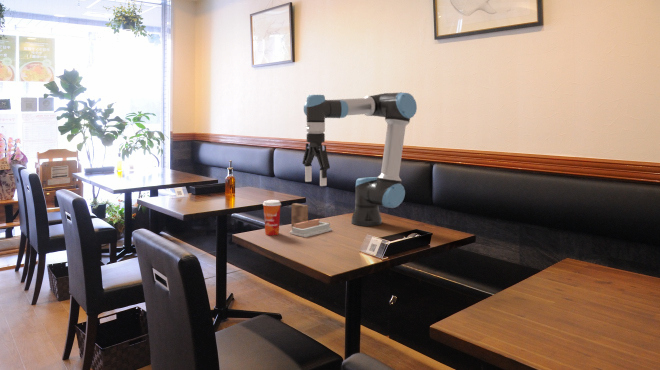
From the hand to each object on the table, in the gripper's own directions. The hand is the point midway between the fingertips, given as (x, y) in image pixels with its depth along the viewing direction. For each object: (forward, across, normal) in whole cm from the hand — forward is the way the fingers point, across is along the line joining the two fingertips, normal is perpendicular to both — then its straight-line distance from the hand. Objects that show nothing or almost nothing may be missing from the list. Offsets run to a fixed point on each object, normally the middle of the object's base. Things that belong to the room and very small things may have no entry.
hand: (315, 183), depth 204 cm
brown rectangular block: (+25, -27, +5) cm, 37 cm away
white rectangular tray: (+25, -16, +6) cm, 30 cm away
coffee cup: (+25, -20, -12) cm, 34 cm away
